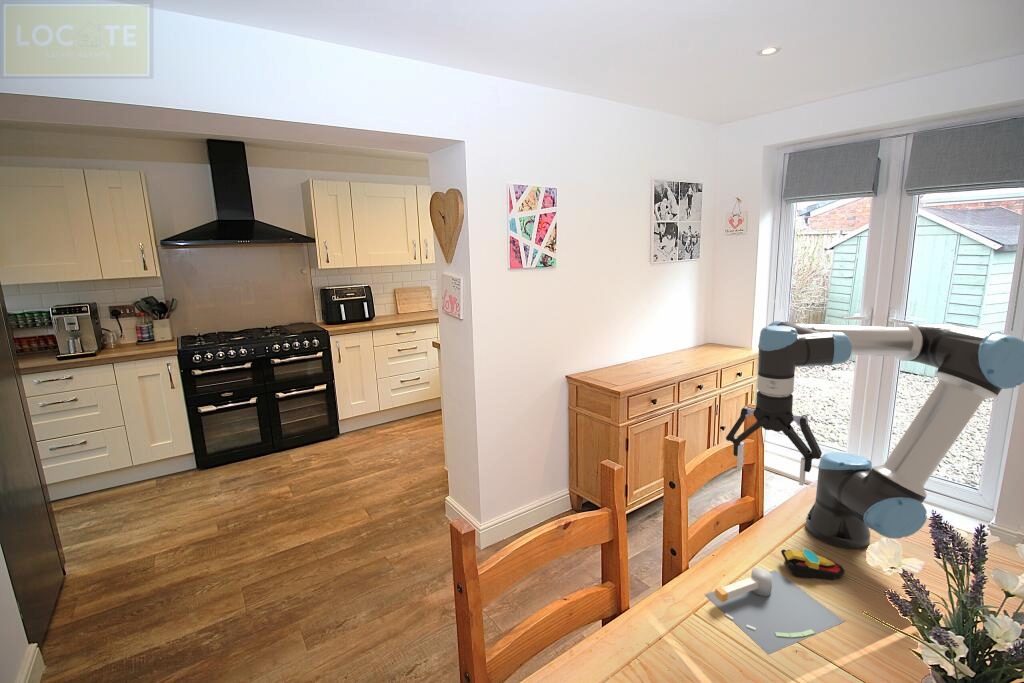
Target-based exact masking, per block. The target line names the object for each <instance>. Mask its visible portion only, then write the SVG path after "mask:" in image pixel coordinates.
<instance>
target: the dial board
mask: <svg viewBox="0 0 1024 683" xmlns="http://www.w3.org/2000/svg"><path fill="white" fill-rule="evenodd" d="M769 572H770V573H771V574H772V577H773V579H772V590H771V594H770V595H769V596H761V595H758V594H756V593H754V592H753V591H749V592H746V593H744V594H741V595H738V596H735V597H733V598H730V599H727V601H725V602H721V601H720V600H719V599H718V598H717V597H715V590H713V591H711V592H707V593H706V594H704V596H705V597H706V598H707V599H708V600H709V601H710V602H712V604H714V605H715V606H716V607H717V608H718V609H719V610H721V612H722V613H723V614H724V616H726V617H727V618H728V619H730V620H731V621H732V622H733V623H734V624H735V625H736V626H737V627H738V628H739V629H741V631H743V632H744V633H745V634H746V635H747V636H748V637H749V638H750V639H751V640H752V641H754V642H755V644H756V645H758V647H760V648H761V649H762V650H763V651H764V652H765V653H766V655H770V654H772V653H775V652H777V651H779V650H782V649H785V648H788V647H789V646H791V645H794V644H796V643H798V642H800V641H801V642H802V641H804V640H805V639H807V638H810V637H812V636H815V635H817V634H820V633H821V632H823V631H826V630H828V629H832V628H833V627H836V626H839V625H840V624H842V623H843V624H844V623H845V622H846V620H844V619H843V618H841V617H840V616H839V615H837V614H836V613H835V612H834V611H832V610H830V609H829V608H828V607H826V605H823V603H821V602H819V601H818V600H817V599H815V598H814V597H813V596H811V595H810V594H808V593H807V592H806V591H804V590H803V589H802V588H800V587H799V586H798V585H797V584H795V583H793V581H791V580H789V579H788V578H787V577H785V576H784V575H783V574H781V573H780V572H778V571H777V570H776V569H774V570H771V571H769Z"/></svg>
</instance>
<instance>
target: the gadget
mask: <svg viewBox="0 0 1024 683" xmlns="http://www.w3.org/2000/svg"><path fill="white" fill-rule="evenodd" d="M780 553H781V554H782V557H783V559H784V562H785V563H786V566H787V568H788V570H789V571H790V574H791V576H794V577H797V578H802V579H810V580H811V579H815V580H816V579H818V580H828V581H829V580H830V581H833V580H834V579H840V578H841V577H842V576H843V575H844V573H845V569H844V568H843V566H841V564H839V563H837V562H835V561H834V560H832V559H830V558H826V557H824V556H821V555H817V554H816V553H815V552H814V551H812V550H811V549H808V548H805V547H803V548H802V549H801V551H799V550H794V549H787V550H786V549H781V550H780Z"/></svg>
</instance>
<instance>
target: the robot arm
mask: <svg viewBox="0 0 1024 683" xmlns="http://www.w3.org/2000/svg"><path fill="white" fill-rule="evenodd" d="M757 347H758V359H757V360H758V361H757V362H758V363H757V382H756V389H757V392H756V396H755V397H756V398H755V400H756V401H755V409H754V408H750V406H748V405H744V406H743V407H742V409H741V411H740V416H739V417H738V418H737V420H736V422H735V424H733V426H732V428H731V430H730V431H729V432H728V433H727V435H726V437H725V440H726V441H728V442H731V443H732V444H733V455H734V456H735V457H736V458H737V464H736V470H737V471H740V472H741V470H742V468H743V467H744V457H745V456H744V455H745V453H744V452H745V442H744V440H746V439H747V438H748V437H749V436H750V435H752V434H753V433H755V432H756V431H757V430H759V429H760V428H762V429H764V430H766V431H773V432H775V433H776V432H777V433H780V432H783V434H784V435H785V436H787V438H788V439H789V440H790V441H791V443H792V444H793V445H794V447H795V448H796V449H797V450H798V451H799V453H800V454H801V455H802V456H801V458H800V465H799V466H800V469H799V478H798V479H799V482H798V485H799V486H804V483H805V481H806V473H810V472H811V470H812V464H813V463H812V461H813V460H814V459H815V460H819V464H818V466H817V468H818V473H817V481H816V482H817V483H816V493H815V501H814V502H813V504H812V506H811V508H810V510H809V512H808V513H807V515H806V519H805V527H806V529H807V531H808V532H809V533H810V534H811V535H812V536H813V537H815V538H816V539H818V540H820V541H822V542H824V543H826V544H828V545H830V546H831V545H832V546H835V547H838V548H843V549H852V550H853V549H855V550H857V549H863V548H865V547H866V546H868V545H870V540H871V531H870V529H871V530H873V531H874V532H875V533H877V534H878V535H880V536H882V537H884V538H886V539H887V538H888V539H893V540H894V539H896V540H897V539H902V538H907V537H910V536H912V535H914V534H916V533H918V532H919V530H921V529H922V528H923V527H924V525H925V524H926V521H927V519H928V516H927V514H928V512H927V511H928V510H927V509H926V507H925V505H924V504H923V502H924V501H925V500H926V498H927V497H928V495H927V492H926V490H925V485H926V483H927V482H928V481H929V479H930V478H931V476H932V475H933V474H934V472H935V471H936V469H937V467H938V466H939V465H940V464H941V462H942V461H943V459H944V458H945V456H946V455H947V453H948V452H949V450H950V449H951V448H952V446H953V444H954V443H955V442H956V440H957V439H958V437H959V436H960V435H961V433H962V432H963V430H964V429H965V427H966V426H967V424H968V423H969V422H970V420H971V419H972V417H973V415H974V414H976V411H977V410H978V409H979V407H980V406H981V404H982V403H983V401H985V400H989V399H992V398H993V399H994V398H997V396H998V395H999V394H1000V392H1002V389H1004V390H1006V389H1014V388H1016V387H1017V386H1021V385H1022V384H1024V340H1023V339H1021V338H1020V337H1017V336H1013V335H1010V334H1007V333H1004V332H1002V331H993V330H987V329H981V328H976V327H970V326H965V325H962V324H954V323H904V324H901V325H898V326H897V327H895V326H892V327H891V326H868V325H863V326H862V325H844V324H843V325H841V324H839V325H838V324H818V323H817V324H815V323H793V322H790V321H787V320H775V321H772V322H770V323H769V324H768V325H767V326H765V327H763V328H762V329H761V330H760V334H759V341H758V346H757ZM851 356H869V357H871V356H872V357H873V356H875V357H895V358H896V359H898V360H900V361H905V362H915V363H920V364H923V365H927V366H931V367H934V368H936V369H937V370H936V372H935V374H936V378H937V379H938V382H937V385H936V386H935V387H934V389H933V391H932V392H931V394H930V395H929V397H928V398H927V399H926V401H925V402H924V403H923V405H922V406H921V408H920V409H919V411H918V412H917V414H916V416H915V417H914V419H913V420H912V422H911V423H910V424H909V426H908V428H907V429H906V431H905V432H904V434H903V435H902V437H901V438H900V440H899V441H898V442H897V443H896V445H895V447H894V448H893V450H892V452H891V453H890V455H889V456H888V458H887V459H886V460H885V462H884V463H883V464H882V465H876V466H872V462H871V460H870V459H868V458H866V457H864V456H861V455H859V454H858V455H857V454H853V453H847V452H828V453H825V454H824V455H822V454H823V452H822V450H821V448H820V446H819V443H818V442H817V440H816V438H815V436H814V434H813V432H812V430H811V427H810V425H809V419H808V418H809V417H808V416H807V415H806V414H803V415H795V414H793V402H794V395H793V393H794V391H795V390H794V389H795V387H794V386H795V384H794V383H795V373H796V368H802V367H819V366H821V367H822V366H834V365H840V364H842V365H843V364H845V363H846V362H848V361H849V359H850V357H851ZM752 415H753V417H754V418H755V419H756V421H755V422H754V423H752V425H750V426H749V427H748V428H746V429H745V430H744V431H742V432H741V433H740V434H739V435H738V436H736V434H737V432H738V431H739V429H740V428H741V426H742V425H743V423H744V422H745V420H746V419H747V418H750V416H752ZM793 422H795V423H796V425H797V426H799V428H800V430H801V433H802V434H803V437H804V440H805V441H806V443H807V445H806V444H805V442H804V440H802V438H801V437H800V436H799V435H798V433H797V432H796V431H795V430H794V427H793V426H792V425H791V424H792V423H793Z"/></svg>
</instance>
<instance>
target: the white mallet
mask: <svg viewBox="0 0 1024 683" xmlns="http://www.w3.org/2000/svg"><path fill="white" fill-rule="evenodd" d="M750 575H751V576H750V577H748V578H745V579H742V580H739V581H736V582H733V583H730V584H728V585H725V586H718V587H715V589H714V591H715V597H717V598H718V599H719V600H720V601H721V602H725V601H727V599H730V598H733V597H735V596H738V595H741V594H744V593H746V592H749V591H753V592H754V593H756V594H758V595H761V596H769V595H770V594H771V590H772V579H773V577H772V574H771V573H770V571H768V570H767V569H764V568H759V567H757V568H753V569H752V570H751V574H750Z"/></svg>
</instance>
